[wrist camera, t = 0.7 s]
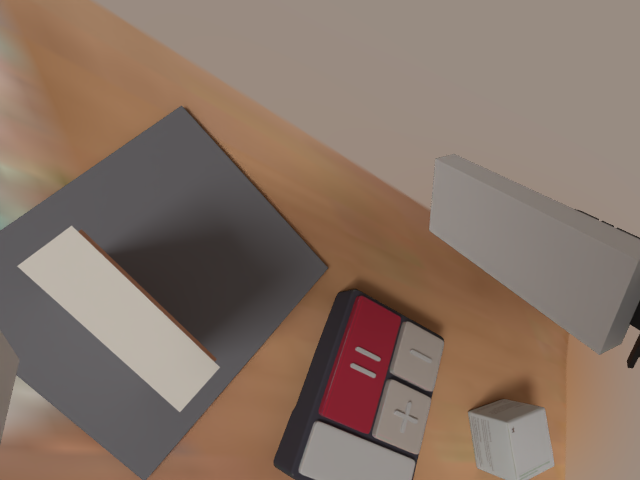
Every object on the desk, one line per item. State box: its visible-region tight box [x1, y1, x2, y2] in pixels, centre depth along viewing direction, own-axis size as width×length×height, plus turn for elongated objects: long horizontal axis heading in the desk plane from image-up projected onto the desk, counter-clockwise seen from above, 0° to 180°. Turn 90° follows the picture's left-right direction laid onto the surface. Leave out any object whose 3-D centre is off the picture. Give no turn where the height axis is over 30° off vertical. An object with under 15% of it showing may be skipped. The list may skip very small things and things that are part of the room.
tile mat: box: [0, 106, 328, 480], centre depth 31 cm, size 18×20×1 cm
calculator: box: [274, 289, 444, 480], centre depth 35 cm, size 11×4×15 cm
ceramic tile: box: [17, 226, 220, 412], centre depth 23 cm, size 9×3×12 cm, turn 47°
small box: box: [468, 399, 554, 480], centre depth 41 cm, size 6×6×5 cm
